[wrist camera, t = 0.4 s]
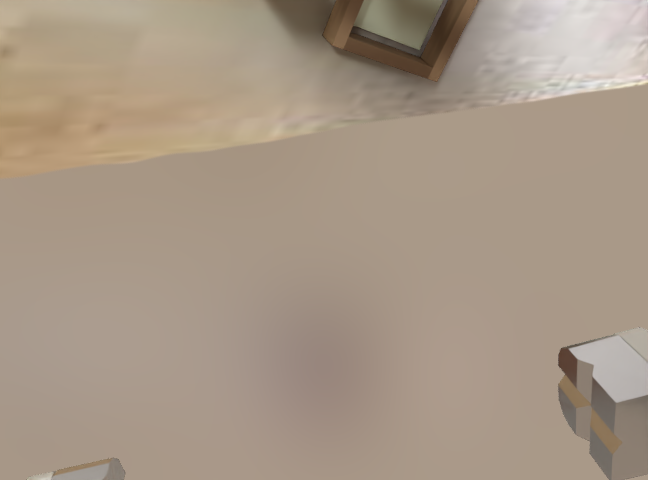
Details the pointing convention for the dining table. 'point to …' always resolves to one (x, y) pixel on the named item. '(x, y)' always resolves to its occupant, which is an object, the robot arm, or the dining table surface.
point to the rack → (400, 31)
